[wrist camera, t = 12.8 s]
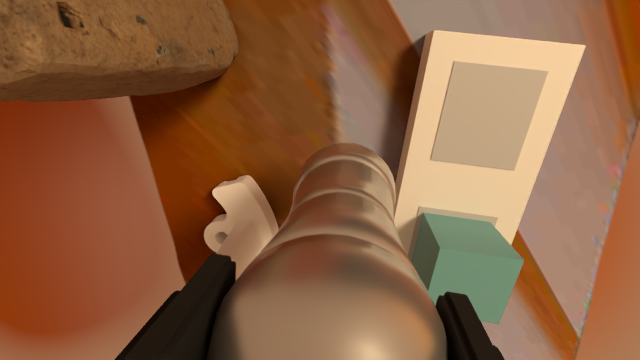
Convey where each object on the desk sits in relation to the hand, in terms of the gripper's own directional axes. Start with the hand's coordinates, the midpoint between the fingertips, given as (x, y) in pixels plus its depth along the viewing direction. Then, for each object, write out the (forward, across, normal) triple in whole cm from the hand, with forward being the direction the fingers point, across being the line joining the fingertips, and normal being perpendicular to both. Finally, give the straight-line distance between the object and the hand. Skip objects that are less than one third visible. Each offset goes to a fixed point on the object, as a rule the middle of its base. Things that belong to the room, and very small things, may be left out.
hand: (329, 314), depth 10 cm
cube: (+19, -10, +7) cm, 23 cm away
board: (+22, -10, 0) cm, 24 cm away
